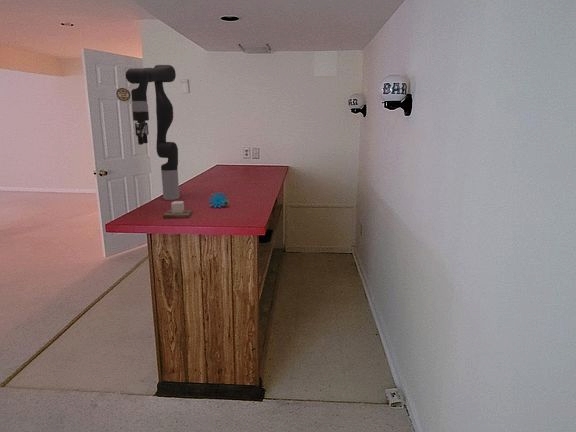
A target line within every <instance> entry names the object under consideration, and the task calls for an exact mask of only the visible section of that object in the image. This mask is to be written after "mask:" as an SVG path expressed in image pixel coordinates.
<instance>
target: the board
mask: <svg viewBox="0 0 576 432" xmlns="http://www.w3.org/2000/svg"><path fill="white" fill-rule="evenodd" d="M192 214H193V209H191V208H190V209H187V208H184V212H183V213H173V214H172V209H168V210H166V212H165V213H164V214H163V215H162V217H163V218H162V219H189V218H190V216H192Z"/></svg>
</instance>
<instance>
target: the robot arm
mask: <svg viewBox="0 0 576 432" xmlns="http://www.w3.org/2000/svg"><path fill="white" fill-rule="evenodd" d="M176 74H177V73H176V70H175V67H174V66H172V65H170V64H157V65H155V66H153V67H143V68H142V67H140V68H129V69H127V70H126V71H125V79H126V80H127V82H128V83H130V84H132V85H133V84H134V85H135V84H136V85H138V84H139V85H138V86H137V87H136V88H133V89H131V91H130V92H131V93H130V94H131V109H132V110H131V112H132V121H134V122H136V123H134V128H135V129H134V130H135V136H136V137H137V141H138V142H137V143H138V145H142V146H143V145H144V144H148V143H149V142H148V141H149V140H148V136H149V135H150V134H149V125H148V122H147V121H150V115H149V114H150V113H149V105H148V98H147V97H148V96H147V91H148V85H149V83H154V89H155V105H156V106H155V113H156V144H155V145H156V147H155V148H156V154H157V156H158V157H159V158H161V159H163V158H164V159H167V162H165V163H163V164H161V165H160V168H161V169H160V173H161V181H162V182H161V184H162V196H163V197H162V198H163V200H165V201H173V200H174V201H175V200H179V199H180V185H179V171H178V169H179V168H178V167H179V166H178V165H179V148H178V144H177V143H176V142H174V141H167V134H168V131H169V129H170V127H171V125H172V123H173V120H174V107H173V104H172V102H171V100H170V99H169V97H168V96H167V94H166V92H165V88H164V83H173V82H174V81H175V80H176V76H177V75H176Z"/></svg>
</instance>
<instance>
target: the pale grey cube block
mask: <svg viewBox="0 0 576 432" xmlns="http://www.w3.org/2000/svg"><path fill="white" fill-rule="evenodd" d="M170 204H171V205H170V206H171V210H172V214H173V213H183V212H184V209H185V202H184V201H183V200H181V201H180V200H177V201H175V200H174V201H173V200H172V202H171V203H170Z"/></svg>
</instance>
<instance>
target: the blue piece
mask: <svg viewBox="0 0 576 432" xmlns="http://www.w3.org/2000/svg"><path fill="white" fill-rule="evenodd" d="M210 196H211V197H210ZM210 196H209V198H208V200H209V201H208V204H210V207H213V209H217V207H218V209H221V208H222V207H225V205H226V207H228V206H229V205H228V204H229V203H230V201H229V200H230V199H228V197H227V196H226V193H223V192H220V191H219V193H218V192H215V193H212V194H211V195H210Z"/></svg>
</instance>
